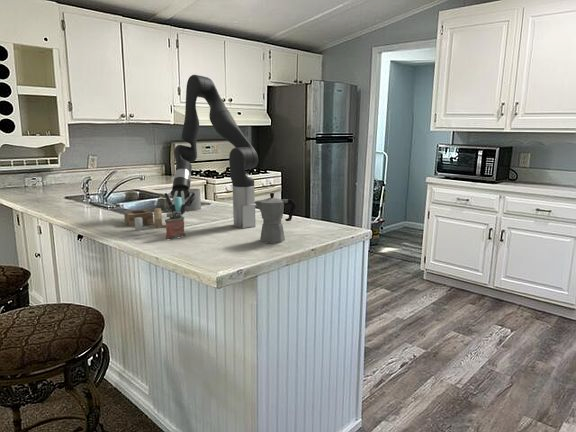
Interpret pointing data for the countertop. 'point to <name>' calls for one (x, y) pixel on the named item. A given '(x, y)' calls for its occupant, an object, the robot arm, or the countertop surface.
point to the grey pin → (138, 224)
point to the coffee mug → (196, 203)
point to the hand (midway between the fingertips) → (177, 213)
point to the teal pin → (178, 204)
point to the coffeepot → (273, 218)
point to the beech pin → (158, 218)
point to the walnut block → (144, 214)
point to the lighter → (174, 225)
